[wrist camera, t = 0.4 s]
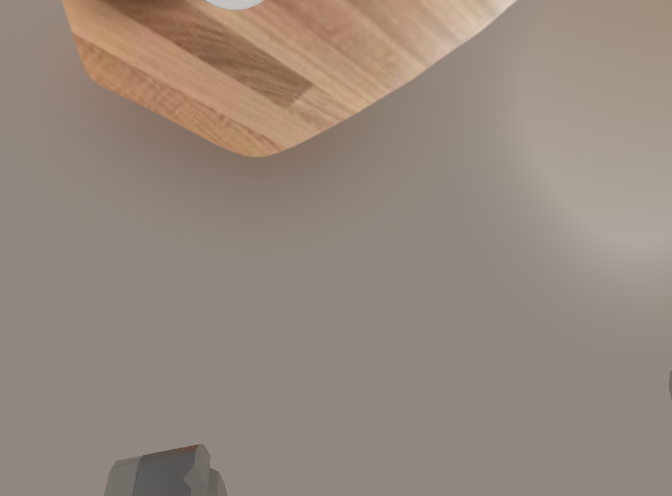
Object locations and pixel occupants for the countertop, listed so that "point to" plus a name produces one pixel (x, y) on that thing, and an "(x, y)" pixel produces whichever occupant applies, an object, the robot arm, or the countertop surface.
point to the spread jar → (234, 4)
